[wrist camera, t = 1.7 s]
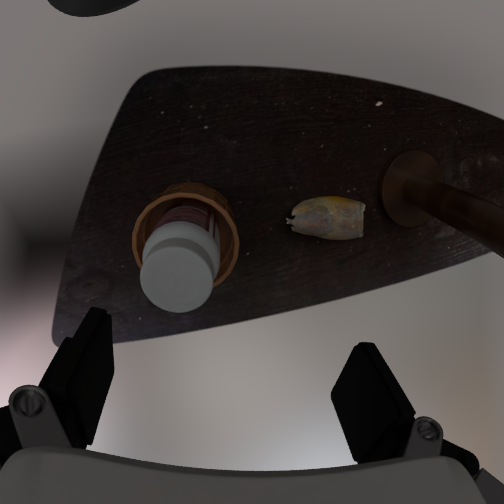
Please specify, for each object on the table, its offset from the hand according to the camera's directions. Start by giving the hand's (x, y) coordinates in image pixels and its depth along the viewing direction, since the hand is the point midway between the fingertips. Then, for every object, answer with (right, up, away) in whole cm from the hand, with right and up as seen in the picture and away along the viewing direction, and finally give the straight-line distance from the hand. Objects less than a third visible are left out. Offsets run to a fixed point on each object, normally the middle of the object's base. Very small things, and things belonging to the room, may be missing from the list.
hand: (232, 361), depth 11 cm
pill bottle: (-6, +6, +20) cm, 22 cm away
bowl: (-6, +7, +21) cm, 22 cm away
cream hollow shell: (+8, +8, +22) cm, 24 cm away
